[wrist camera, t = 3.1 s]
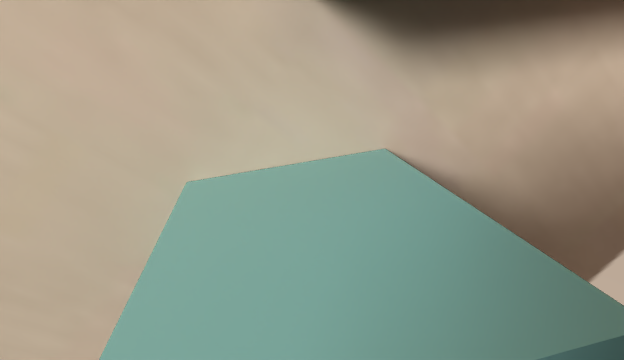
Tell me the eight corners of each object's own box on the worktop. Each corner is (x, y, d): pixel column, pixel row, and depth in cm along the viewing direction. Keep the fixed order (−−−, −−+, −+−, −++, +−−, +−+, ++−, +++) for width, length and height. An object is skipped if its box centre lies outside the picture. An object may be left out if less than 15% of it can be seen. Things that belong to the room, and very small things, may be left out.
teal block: (230, 337, 10) (206, 720, 4) (186, 182, 8) (29, 501, 2) (389, 299, 10) (557, 586, 5) (384, 148, 8) (655, 325, 3)
